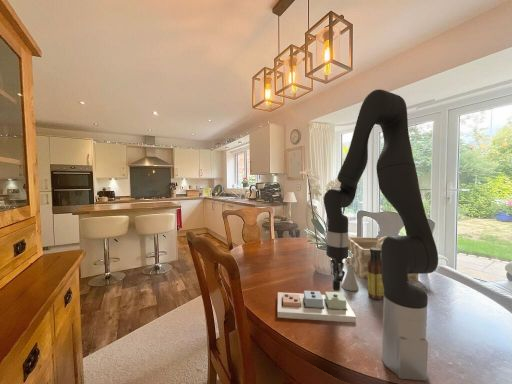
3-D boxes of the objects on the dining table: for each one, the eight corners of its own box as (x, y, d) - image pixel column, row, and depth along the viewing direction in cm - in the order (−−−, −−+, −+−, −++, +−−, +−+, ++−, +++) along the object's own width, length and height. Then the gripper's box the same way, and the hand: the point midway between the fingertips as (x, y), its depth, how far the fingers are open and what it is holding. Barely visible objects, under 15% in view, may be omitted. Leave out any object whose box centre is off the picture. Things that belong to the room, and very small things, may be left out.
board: (355, 322, 75) (355, 316, 75) (277, 317, 78) (277, 311, 78) (343, 300, 89) (343, 295, 89) (277, 297, 92) (277, 292, 92)
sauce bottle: (384, 295, 94) (386, 248, 93) (384, 302, 88) (386, 252, 88) (367, 291, 97) (368, 245, 96) (366, 297, 92) (367, 249, 91)
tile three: (299, 311, 81) (300, 302, 81) (283, 309, 82) (283, 301, 82) (298, 302, 87) (298, 293, 87) (282, 301, 88) (282, 293, 88)
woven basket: (418, 280, 109) (419, 251, 108) (361, 277, 111) (361, 249, 111) (391, 261, 135) (391, 238, 134) (345, 259, 138) (346, 236, 137)
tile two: (322, 307, 80) (323, 298, 80) (305, 306, 81) (305, 297, 81) (319, 299, 86) (319, 290, 86) (303, 298, 87) (303, 289, 87)
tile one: (346, 309, 79) (346, 299, 79) (328, 308, 80) (328, 298, 80) (341, 300, 85) (341, 291, 85) (325, 299, 86) (325, 290, 86)
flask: (360, 292, 96) (361, 269, 96) (342, 290, 98) (343, 268, 97) (356, 285, 103) (357, 263, 103) (340, 283, 105) (340, 262, 104)
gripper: (353, 249, 75) (352, 300, 76) (343, 238, 88) (342, 282, 89) (330, 248, 76) (329, 298, 77) (323, 238, 89) (322, 281, 90)
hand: (336, 289), depth 83 cm, fingers closed
